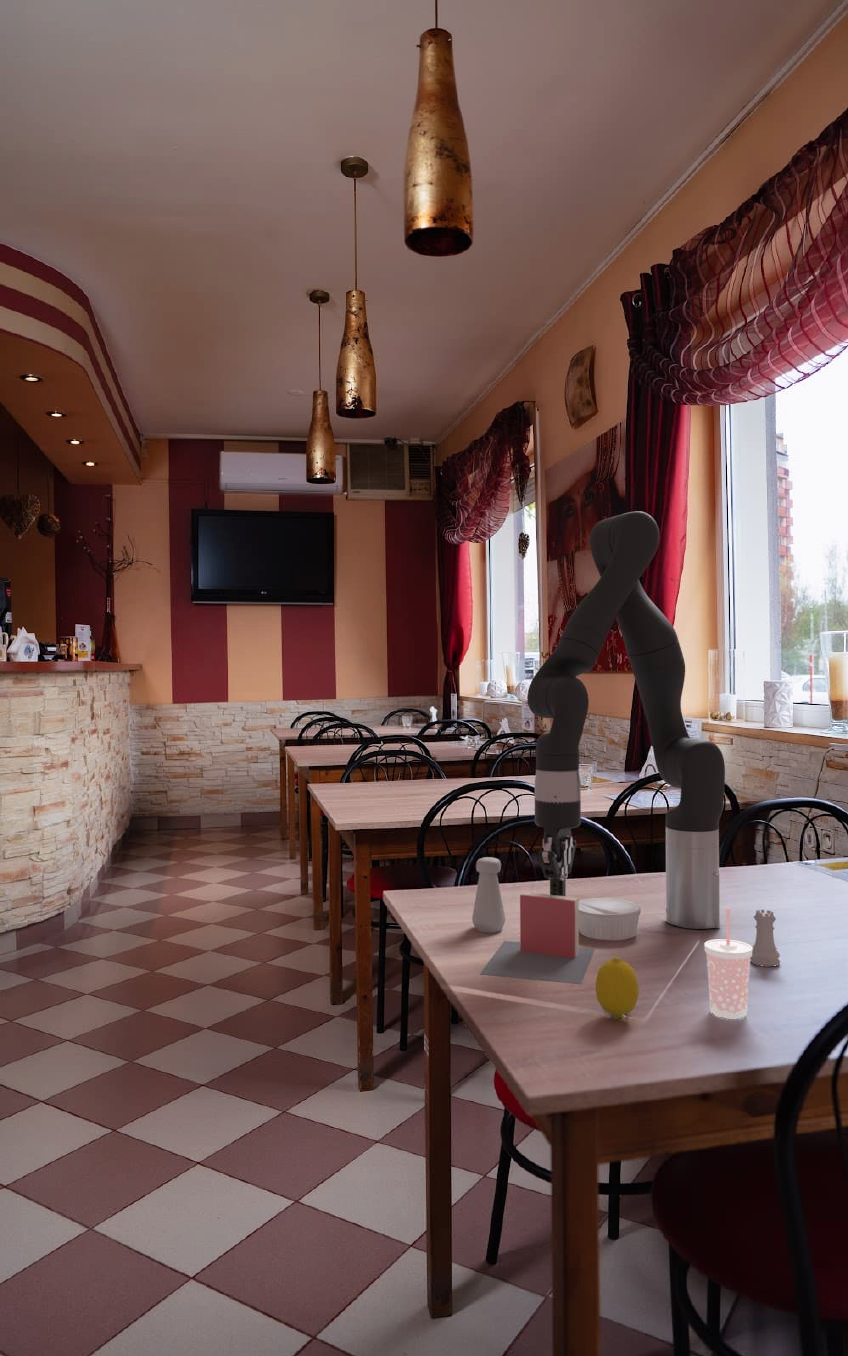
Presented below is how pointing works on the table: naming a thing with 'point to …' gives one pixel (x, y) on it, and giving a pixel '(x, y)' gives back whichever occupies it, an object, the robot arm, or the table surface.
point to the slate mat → (537, 964)
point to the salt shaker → (488, 897)
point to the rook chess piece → (765, 940)
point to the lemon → (617, 987)
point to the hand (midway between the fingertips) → (557, 901)
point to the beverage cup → (728, 975)
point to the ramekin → (608, 918)
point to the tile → (549, 924)
